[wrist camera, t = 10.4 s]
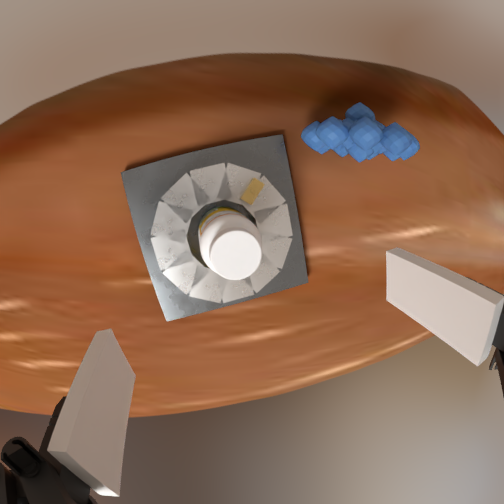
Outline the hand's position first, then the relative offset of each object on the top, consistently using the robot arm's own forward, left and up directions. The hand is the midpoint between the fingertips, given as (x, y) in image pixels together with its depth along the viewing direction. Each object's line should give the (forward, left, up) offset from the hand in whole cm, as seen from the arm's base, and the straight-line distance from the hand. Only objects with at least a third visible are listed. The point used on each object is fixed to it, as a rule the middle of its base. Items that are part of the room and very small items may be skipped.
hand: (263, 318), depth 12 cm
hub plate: (0, 0, -21) cm, 21 cm away
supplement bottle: (0, 0, -20) cm, 20 cm away
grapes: (+16, +8, -21) cm, 27 cm away
